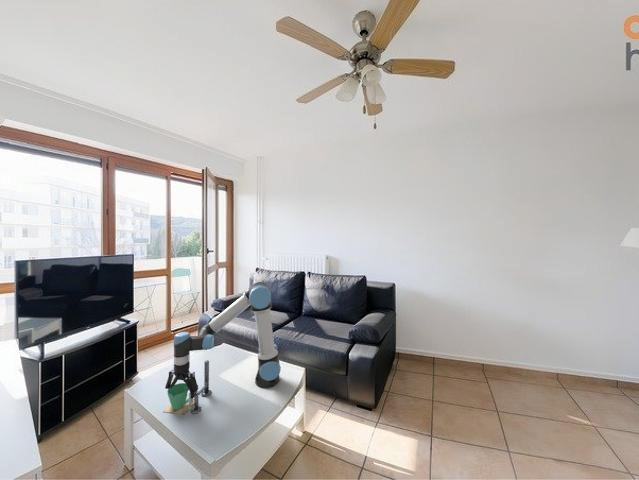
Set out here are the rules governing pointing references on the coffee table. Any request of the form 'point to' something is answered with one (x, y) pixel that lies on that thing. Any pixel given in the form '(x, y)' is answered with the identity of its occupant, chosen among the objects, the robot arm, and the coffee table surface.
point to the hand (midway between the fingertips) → (181, 402)
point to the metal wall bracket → (205, 388)
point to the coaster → (180, 411)
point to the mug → (178, 395)
